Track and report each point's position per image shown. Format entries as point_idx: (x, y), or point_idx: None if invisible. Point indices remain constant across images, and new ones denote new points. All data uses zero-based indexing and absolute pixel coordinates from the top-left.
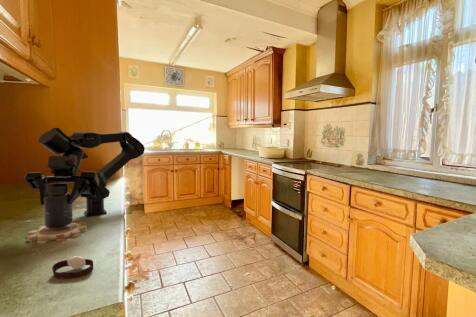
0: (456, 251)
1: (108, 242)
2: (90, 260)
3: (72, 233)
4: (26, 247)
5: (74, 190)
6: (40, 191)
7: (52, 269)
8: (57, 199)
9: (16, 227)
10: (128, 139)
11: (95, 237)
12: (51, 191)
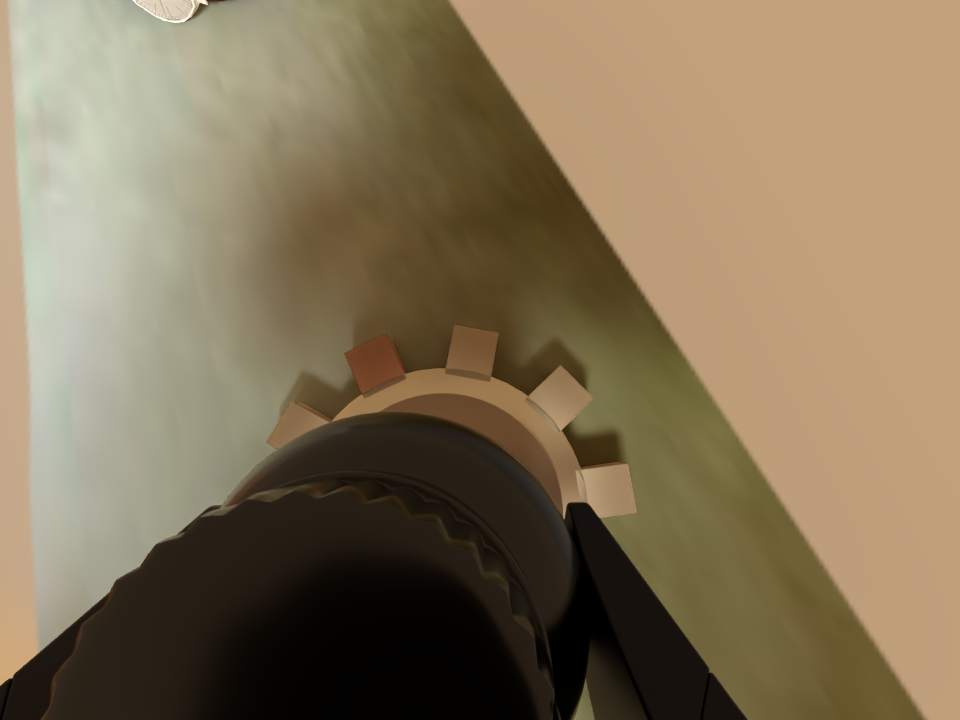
0: None
1: (80, 278)
2: None
3: (316, 415)
4: (529, 289)
5: (9, 714)
6: (719, 708)
7: None
8: (321, 428)
9: (834, 709)
10: None
11: (173, 375)
12: (395, 485)
